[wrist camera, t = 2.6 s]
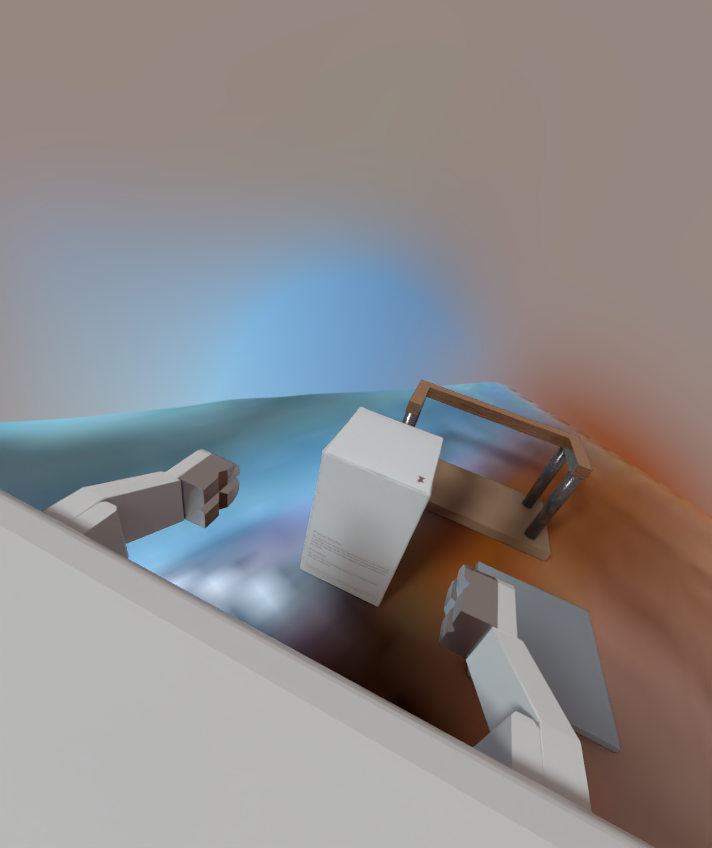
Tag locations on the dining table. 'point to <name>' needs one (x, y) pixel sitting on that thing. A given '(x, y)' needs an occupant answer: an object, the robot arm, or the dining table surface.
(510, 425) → the wooden post stand
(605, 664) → the dining table surface
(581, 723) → the mat
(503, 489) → the brown board
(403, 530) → the supplement box
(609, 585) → the dining table surface
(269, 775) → the robot arm
